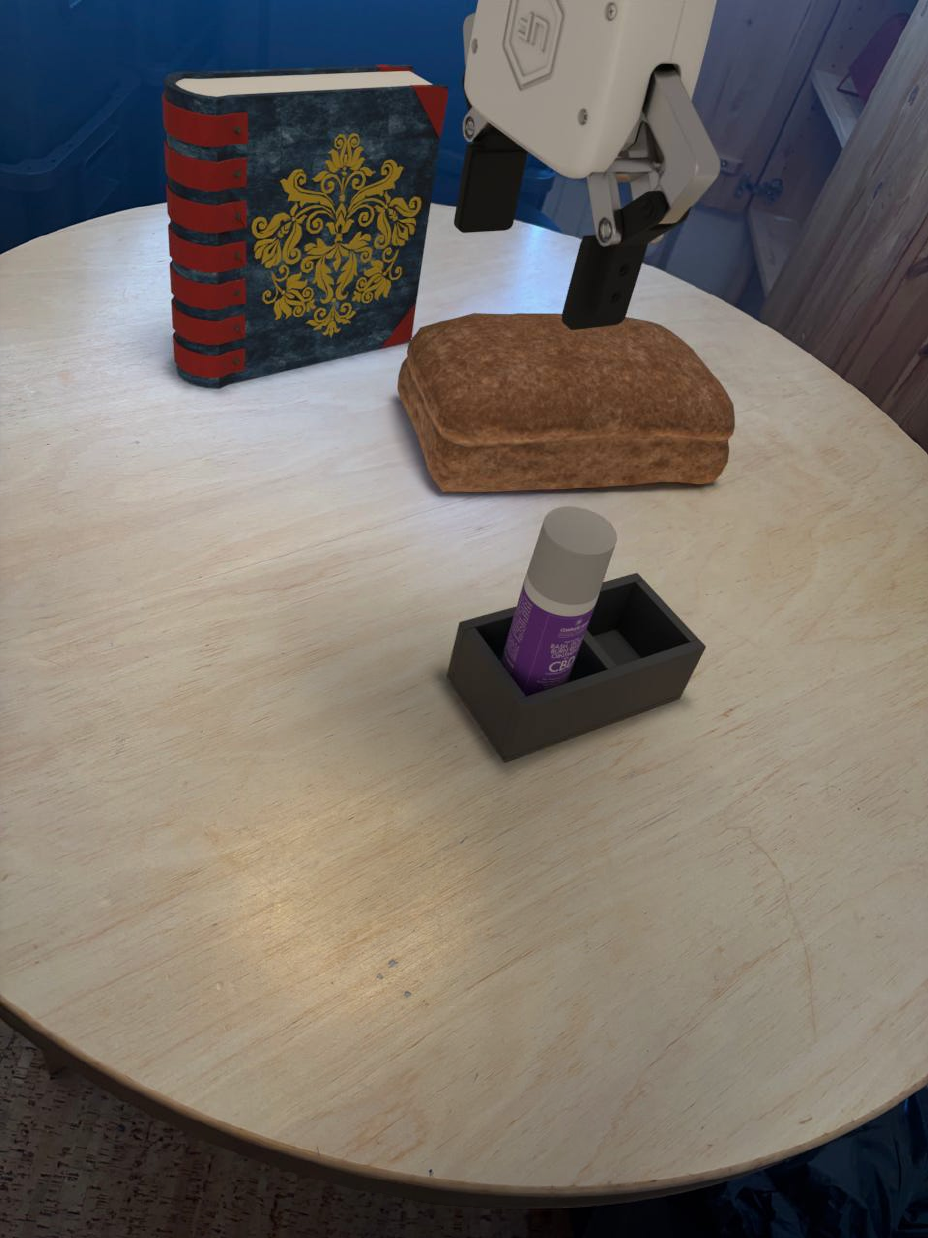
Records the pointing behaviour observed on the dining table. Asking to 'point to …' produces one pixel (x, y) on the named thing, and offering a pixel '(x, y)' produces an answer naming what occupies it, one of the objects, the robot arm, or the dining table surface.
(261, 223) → the book
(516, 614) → the container
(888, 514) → the dining table surface
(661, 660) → the dark grey divided box
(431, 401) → the bread
